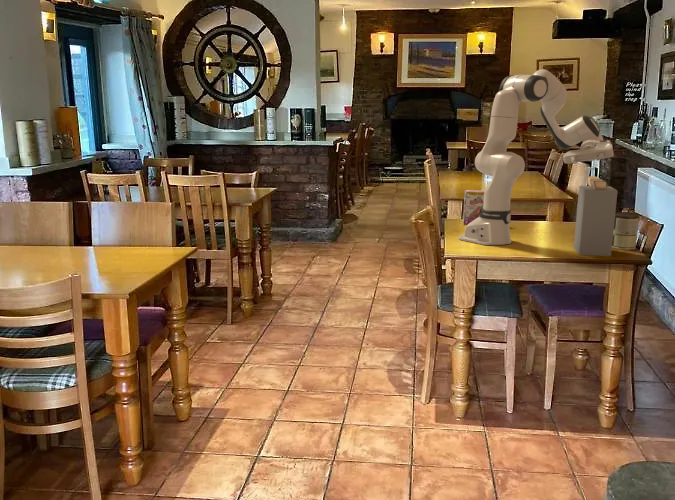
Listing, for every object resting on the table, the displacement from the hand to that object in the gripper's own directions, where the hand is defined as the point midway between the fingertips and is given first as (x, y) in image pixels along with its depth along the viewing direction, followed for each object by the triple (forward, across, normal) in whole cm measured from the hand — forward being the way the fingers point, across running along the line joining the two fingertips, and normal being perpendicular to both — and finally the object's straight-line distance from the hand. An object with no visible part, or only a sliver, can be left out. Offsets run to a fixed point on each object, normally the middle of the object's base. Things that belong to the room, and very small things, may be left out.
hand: (586, 160), depth 281 cm
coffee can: (+10, +10, +37) cm, 40 cm away
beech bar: (+14, +4, +7) cm, 17 cm away
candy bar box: (-10, -57, +27) cm, 64 cm away
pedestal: (+25, +1, +31) cm, 40 cm away
